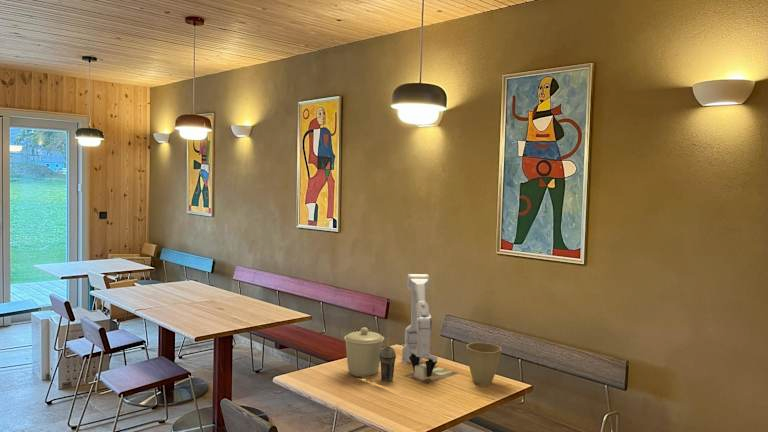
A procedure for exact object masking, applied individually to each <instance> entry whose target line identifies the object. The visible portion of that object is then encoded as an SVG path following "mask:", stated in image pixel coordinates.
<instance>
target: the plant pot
mask: <svg viewBox="0 0 768 432" xmlns="http://www.w3.org/2000/svg"><path fill="white" fill-rule="evenodd" d="M466 354H467V361H468V366H469V371H470V374H471V378H472V380H473V382H475V383H474V384H475V385H476V386H479V387H480V386H481V387H488V386H491V384H492V382H493V380H494V378H495V375H496V373H497V369H498V366H499V363H500V359H501V355H502V347H500V346H499V345H497V344H493V343H490V342H488V343H487V342H471V343H468V344H466Z"/></svg>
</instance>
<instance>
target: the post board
mask: <svg viewBox="0 0 768 432" xmlns="http://www.w3.org/2000/svg"><path fill="white" fill-rule="evenodd" d="M458 374H459V372H457V371H453V370H450V369H447V368H443V367H440V366H437V365H435V366H434V368H433V371H432V375H431V376H430V378H428V379H425V380H421V379H418V378H415V377H414V371H413V372H411V373H408V374H405V375H403V377H405V378H408V379H411V380H413V381H416V382H419V383H422V384H426V385H429V384H432V383H435V382H438V381H441V380H444V379H446V378H448V377H449V378H450V377H452V376H455V375H458Z"/></svg>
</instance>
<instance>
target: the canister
mask: <svg viewBox="0 0 768 432" xmlns="http://www.w3.org/2000/svg"><path fill="white" fill-rule="evenodd" d="M343 339H344V341H345V350H346V351H345V352H346V360H347V361H346V362H347V363H346V364H347V369H348V372H349V374H350V375H352V376H354V377H359V378H361V377H364V376H365V377H368V376H373V375H377V373H379V370H380V369H379V368H380V365H381V362H380V357H379V355H380V352H381V350H382V349H383V342H384V340H385V337H384V336H383V335H381V334H380V333H377V332H374V331H370V330H369V329H368V328H367V327H365V326H364V327H362V328H360V331H352V332H350V333H348V334H346V335H345V336H344V337H343Z"/></svg>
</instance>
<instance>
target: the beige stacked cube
mask: <svg viewBox="0 0 768 432" xmlns="http://www.w3.org/2000/svg"><path fill="white" fill-rule="evenodd" d="M413 372H414V371H413ZM414 377H415V378H418V379H421V380H425V379H428V378H430V377H427V367H426V363H425V364H424V363H419V365H416V366H415V372H414Z"/></svg>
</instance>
